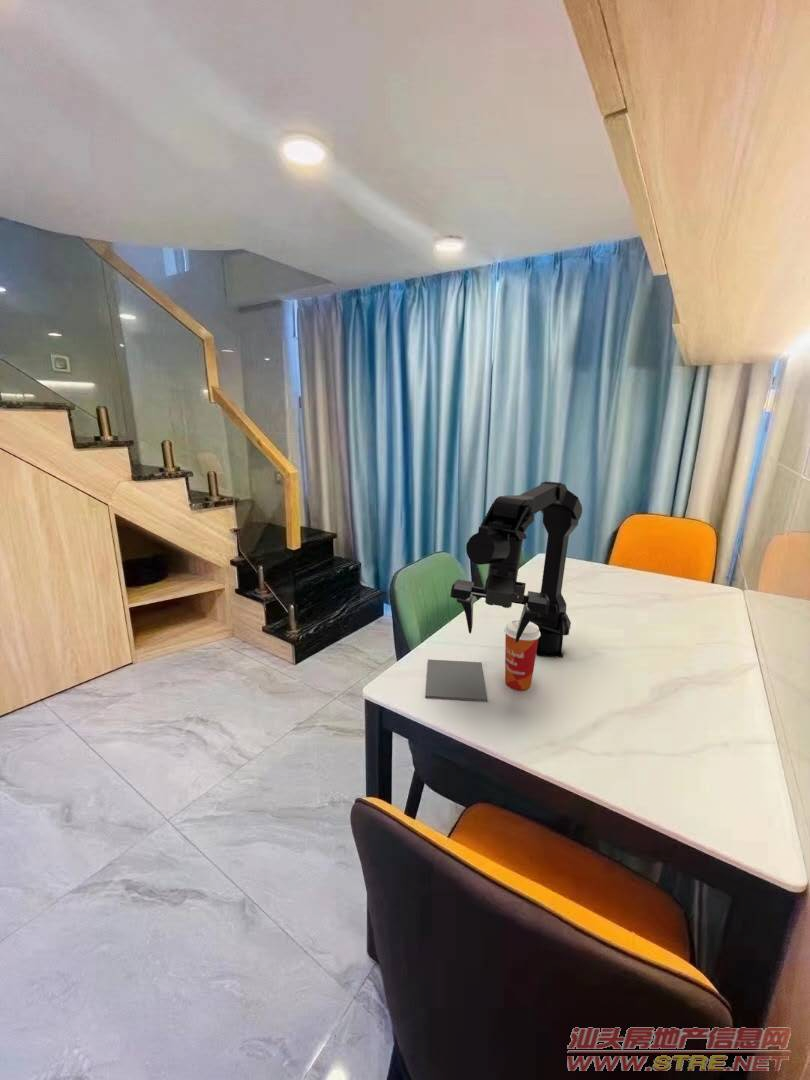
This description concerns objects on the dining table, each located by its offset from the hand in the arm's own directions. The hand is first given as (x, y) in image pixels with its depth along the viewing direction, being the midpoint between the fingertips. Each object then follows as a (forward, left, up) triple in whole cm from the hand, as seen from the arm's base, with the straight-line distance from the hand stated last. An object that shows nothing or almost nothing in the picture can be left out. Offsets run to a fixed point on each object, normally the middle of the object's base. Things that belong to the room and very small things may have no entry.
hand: (492, 637), depth 89 cm
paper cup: (-7, -7, -15) cm, 18 cm away
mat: (+7, -7, -15) cm, 18 cm away
